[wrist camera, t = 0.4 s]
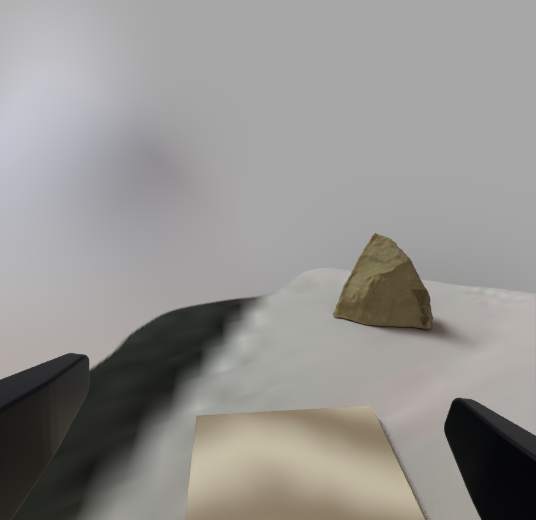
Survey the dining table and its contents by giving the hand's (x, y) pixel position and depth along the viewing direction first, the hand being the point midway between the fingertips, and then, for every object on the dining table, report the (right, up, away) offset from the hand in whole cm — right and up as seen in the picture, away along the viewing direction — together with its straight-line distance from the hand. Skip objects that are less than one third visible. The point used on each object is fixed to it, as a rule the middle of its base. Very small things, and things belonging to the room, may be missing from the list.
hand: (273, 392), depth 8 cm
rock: (+14, -4, +31) cm, 35 cm away
